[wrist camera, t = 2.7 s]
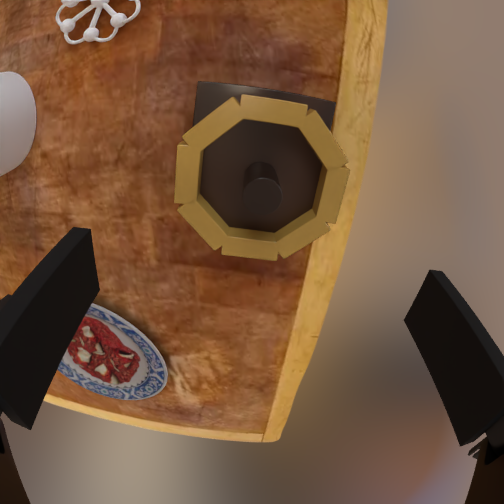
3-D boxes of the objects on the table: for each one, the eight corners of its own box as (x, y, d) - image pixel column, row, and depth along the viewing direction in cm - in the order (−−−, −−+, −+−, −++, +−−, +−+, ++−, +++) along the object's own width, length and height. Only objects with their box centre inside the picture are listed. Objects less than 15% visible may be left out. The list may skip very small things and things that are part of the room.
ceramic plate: (201, 361, 45) (199, 376, 42) (123, 403, 54) (120, 414, 51) (66, 257, 35) (56, 269, 33) (23, 332, 44) (16, 342, 41)
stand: (333, 101, 26) (388, 115, 15) (307, 218, 33) (335, 293, 22) (199, 81, 25) (162, 77, 14) (188, 203, 32) (155, 273, 21)
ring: (354, 115, 19) (362, 118, 17) (319, 256, 25) (322, 266, 23) (187, 89, 18) (182, 89, 16) (177, 238, 24) (172, 248, 22)
